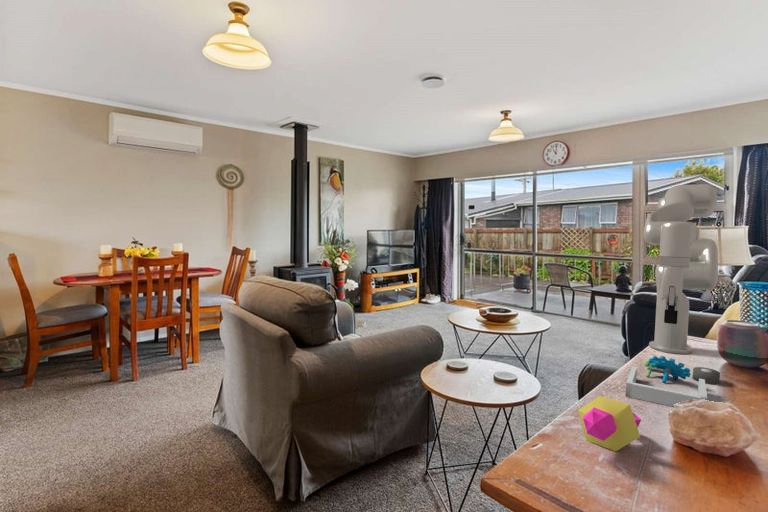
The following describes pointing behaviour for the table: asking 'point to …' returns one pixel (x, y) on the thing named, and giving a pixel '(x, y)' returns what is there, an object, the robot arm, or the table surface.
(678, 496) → the table surface
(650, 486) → the table surface
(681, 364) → the gear
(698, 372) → the wheel
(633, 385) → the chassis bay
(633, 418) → the toy
